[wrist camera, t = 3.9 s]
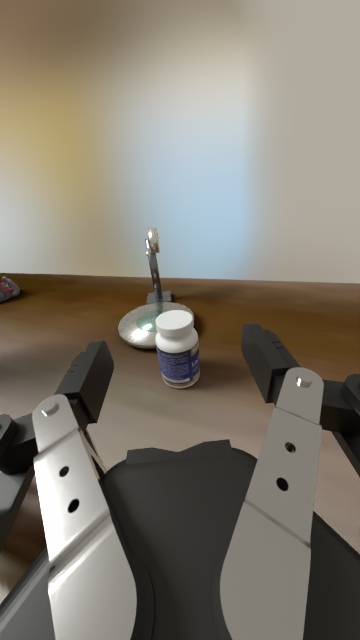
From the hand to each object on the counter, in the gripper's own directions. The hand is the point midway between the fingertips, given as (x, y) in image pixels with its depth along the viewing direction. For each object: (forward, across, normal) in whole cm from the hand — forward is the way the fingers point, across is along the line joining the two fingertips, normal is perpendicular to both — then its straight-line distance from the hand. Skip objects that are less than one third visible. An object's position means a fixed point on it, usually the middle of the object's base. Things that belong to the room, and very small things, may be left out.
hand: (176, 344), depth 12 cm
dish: (+25, -5, -15) cm, 30 cm away
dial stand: (+35, -5, -15) cm, 39 cm away
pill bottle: (+12, -1, -16) cm, 20 cm away
